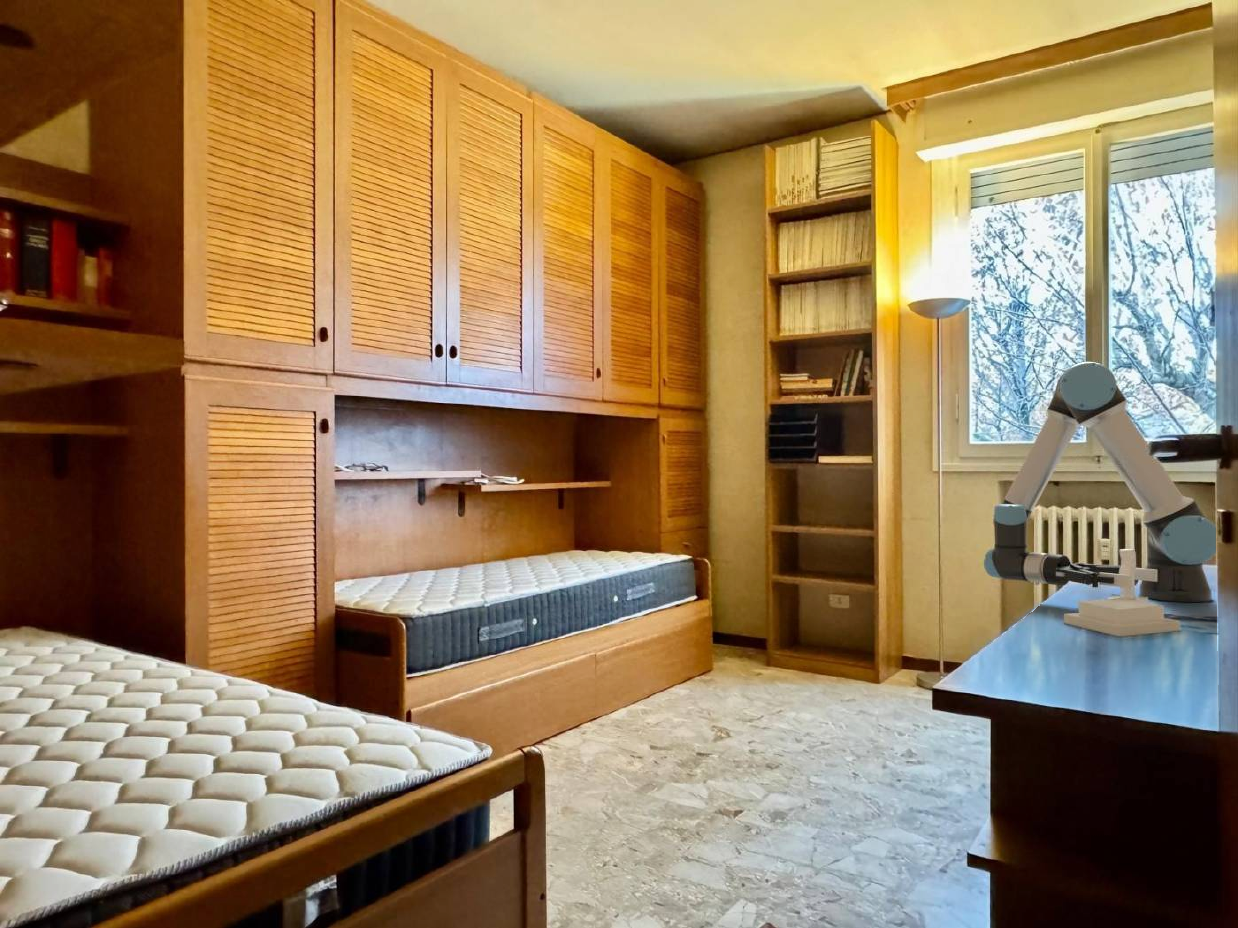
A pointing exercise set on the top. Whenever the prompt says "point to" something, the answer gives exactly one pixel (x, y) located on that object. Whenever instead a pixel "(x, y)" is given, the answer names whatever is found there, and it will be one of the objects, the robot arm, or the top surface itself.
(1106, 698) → the top surface
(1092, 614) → the plinth
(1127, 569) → the figurine
